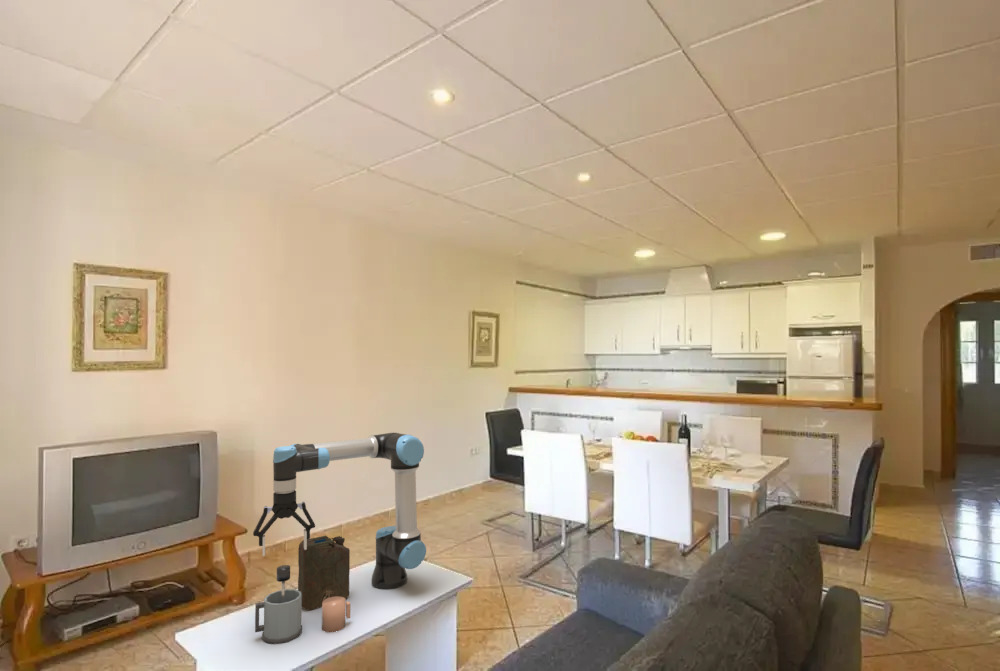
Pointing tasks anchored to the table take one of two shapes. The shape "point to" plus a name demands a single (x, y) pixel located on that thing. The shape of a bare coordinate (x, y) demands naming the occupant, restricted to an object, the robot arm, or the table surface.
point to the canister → (323, 570)
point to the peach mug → (334, 613)
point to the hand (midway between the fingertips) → (284, 551)
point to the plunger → (283, 578)
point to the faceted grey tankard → (280, 617)
